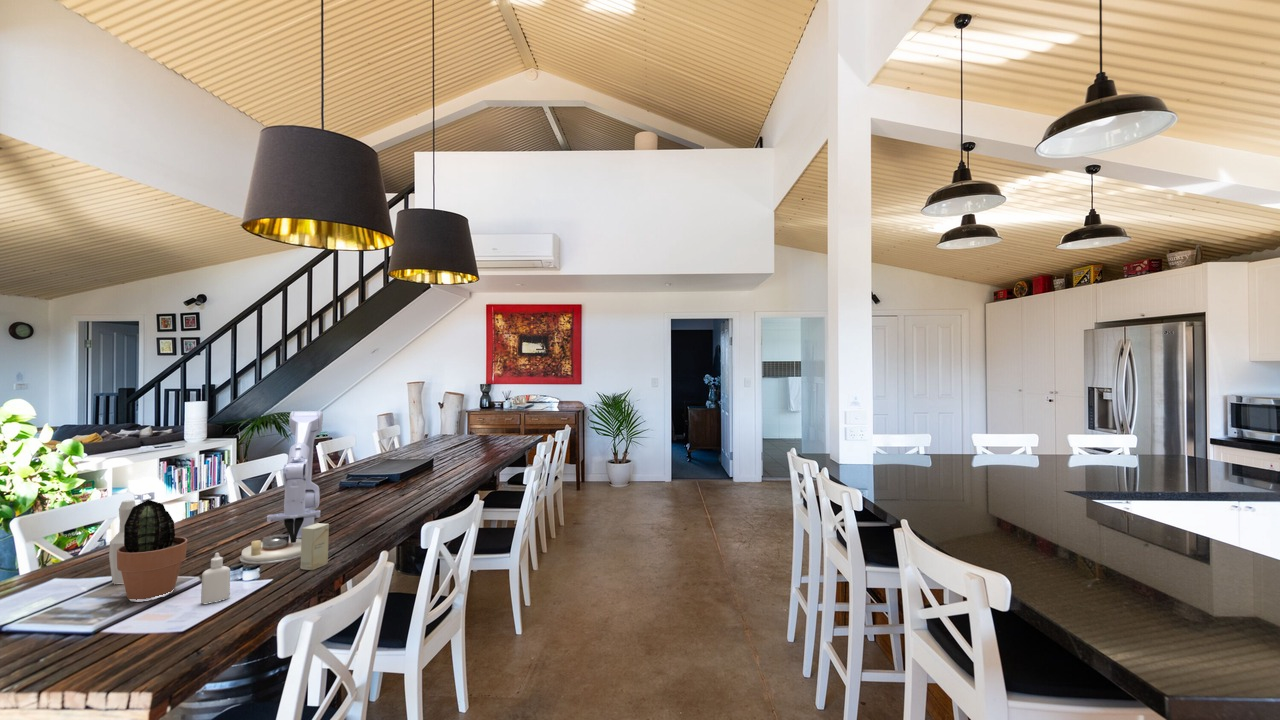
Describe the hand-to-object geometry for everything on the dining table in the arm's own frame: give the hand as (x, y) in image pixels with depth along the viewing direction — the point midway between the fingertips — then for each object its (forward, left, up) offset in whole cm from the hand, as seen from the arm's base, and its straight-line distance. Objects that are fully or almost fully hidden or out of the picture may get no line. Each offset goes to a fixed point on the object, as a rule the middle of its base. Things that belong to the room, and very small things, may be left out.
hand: (293, 541), depth 176 cm
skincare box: (+18, +6, -3) cm, 19 cm away
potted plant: (+24, -30, -3) cm, 38 cm away
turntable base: (0, -5, -3) cm, 6 cm away
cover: (0, -5, -1) cm, 5 cm away
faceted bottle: (+9, -39, -3) cm, 40 cm away
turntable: (0, -5, -3) cm, 6 cm away
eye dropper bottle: (+35, -15, -3) cm, 38 cm away
